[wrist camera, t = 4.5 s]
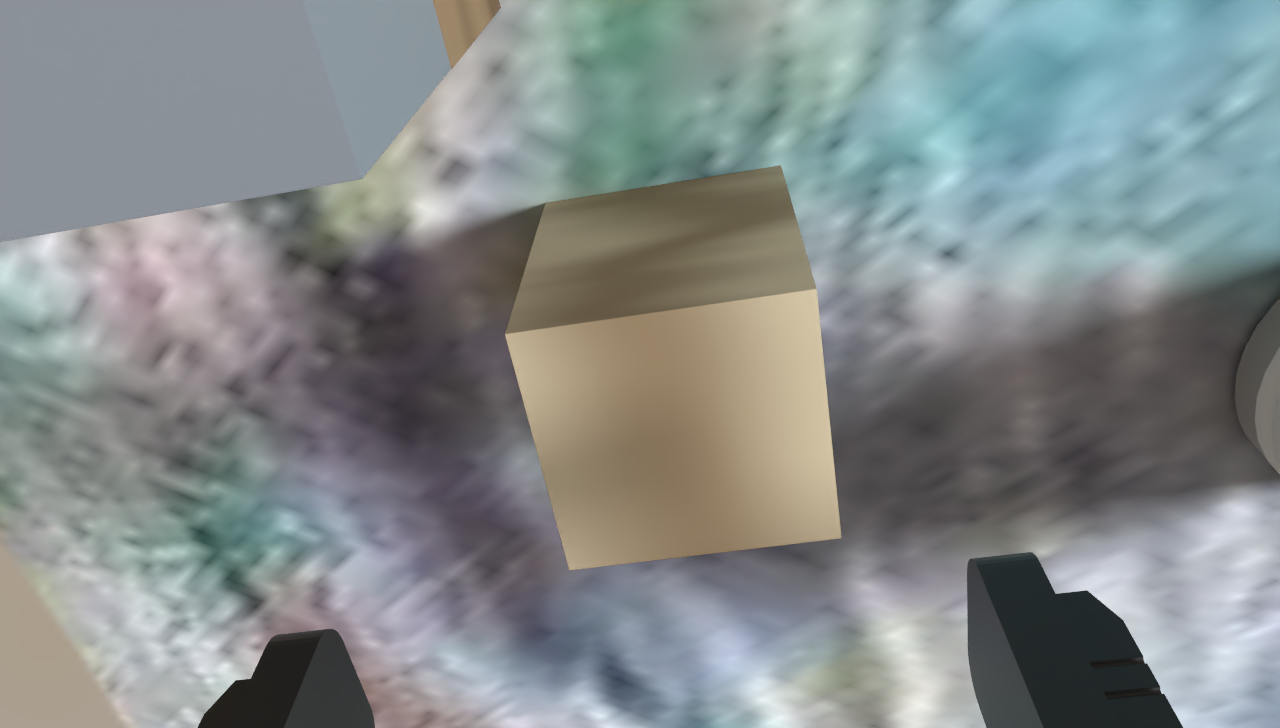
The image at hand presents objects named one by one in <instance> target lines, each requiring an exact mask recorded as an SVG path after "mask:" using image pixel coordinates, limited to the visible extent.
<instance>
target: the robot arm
mask: <svg viewBox="0 0 1280 728" xmlns="http://www.w3.org/2000/svg"><path fill="white" fill-rule="evenodd" d="M967 598H968V656H969V665H970V671H971V677H972V682H973V686H974V690H975V694H976V698H977V701H978V704H979V707H980V710H981V713H982V715H983V718H984V721H985V724H986V727H987V728H1183V727H1182V725H1181V723H1180V721H1179V720H1178V718H1177V716H1176V714H1175V712H1174V711H1173V709H1172V707H1171V705H1170V704H1169V702H1168V700H1167V698H1166V696H1165V695H1164V694H1161V691H1160V686H1159V684H1158V682H1157V680H1156V679H1155V677H1154V675H1153V673H1152V671H1151V670H1150V668H1149V666H1148V664H1145V663H1144V660H1143V655H1142V654H1141V652H1140V650H1139V648H1138V646H1137V645H1136V643H1135V641H1134V639H1133V637H1132V636H1131V634H1130V632H1129V630H1128V629H1127V627H1126V625H1125V623H1124V621H1123V620H1122V619H1121V618H1120V617H1118V616H1117V615H1116V614H1115V613H1114V612H1112V611H1111V610H1110V609H1109V608H1107V607H1106V606H1105V605H1104V604H1103V603H1101V602H1100V601H1099V600H1098V599H1097V598H1095V597H1094V596H1093V595H1092V594H1090V593H1089V592H1088V591H1079V592H1070V593H1061V594H1055V592H1054V590H1053V588H1052V586H1051V584H1050V582H1049V580H1048V578H1047V576H1046V574H1045V572H1044V570H1043V568H1042V566H1041V564H1040V562H1039V560H1038V558H1037V557H1036V556H1035V554H1033V553H1031V552H1028V553H1019V554H1010V555H1002V556H993V557H984V558H975V559H970V560H969V562H968V568H967ZM198 728H375V724H374V717H373V713H372V710H371V707H370V704H369V702H368V700H367V697H366V695H365V692H364V690H363V688H362V685H361V683H360V680H359V678H358V676H357V673H356V671H355V669H354V666H353V664H352V661H351V659H350V657H349V654H348V652H347V649H346V647H345V645H344V642H343V640H342V638H341V636H340V635H339V633H338V632H337V631H336V630H334V629H325V630H316V631H307V632H298V633H290V634H281V635H276V636H274V637H273V638H271V640H270V641H269V642H268V644H267V646H266V648H265V650H264V652H263V654H262V656H261V658H260V660H259V663H258V665H257V667H256V669H255V671H254V673H253V675H252V678H251V679H246V680H237V681H235V682H234V683H233V684H232V685H231V686H230V687H229V688H228V689H227V690H226V692H225V693H224V694H223V695H222V696H221V697H220V698H219V699H218V700H217V701H216V702H215V703H214V704H213V706H212V707H211V708H210V709H209V710H208V711H207V712H206V713H205V714H204V716H203V718H202V720H201V722H200V724H199V726H198Z"/></svg>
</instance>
